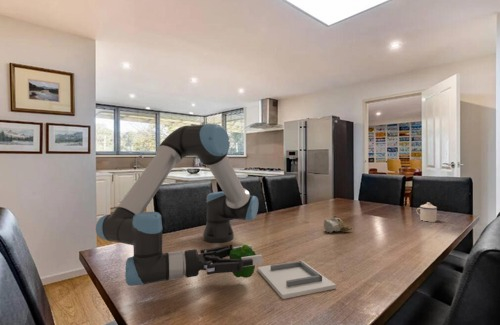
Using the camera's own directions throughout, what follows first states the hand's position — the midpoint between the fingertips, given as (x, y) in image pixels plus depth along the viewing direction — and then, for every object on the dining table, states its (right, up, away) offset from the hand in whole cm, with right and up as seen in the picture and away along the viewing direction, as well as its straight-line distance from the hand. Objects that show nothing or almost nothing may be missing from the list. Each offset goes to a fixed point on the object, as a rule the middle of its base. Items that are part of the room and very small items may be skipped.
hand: (256, 253), depth 84 cm
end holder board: (+12, -9, +2) cm, 16 cm away
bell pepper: (-4, -6, -1) cm, 8 cm away
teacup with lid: (+110, -8, +83) cm, 138 cm away
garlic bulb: (+45, -8, +59) cm, 74 cm away
